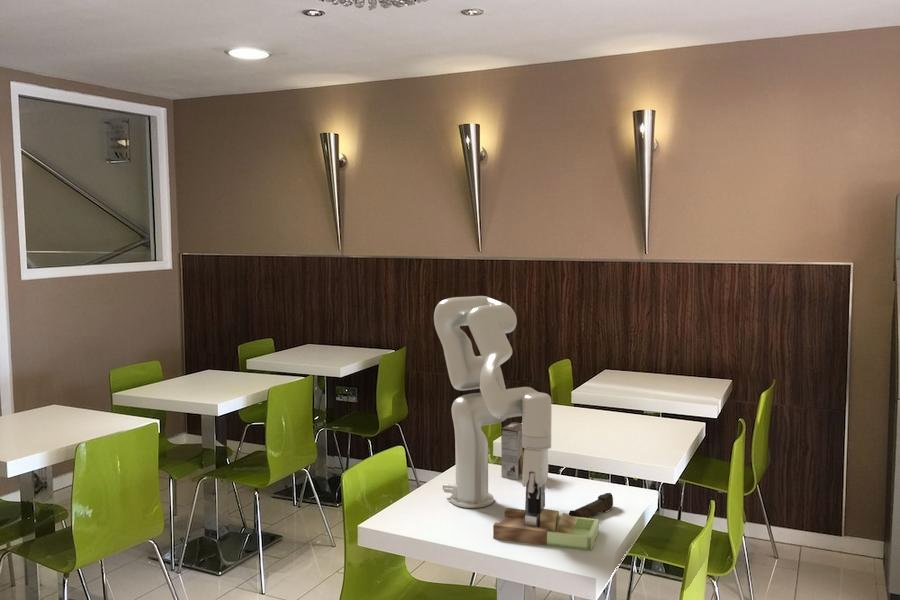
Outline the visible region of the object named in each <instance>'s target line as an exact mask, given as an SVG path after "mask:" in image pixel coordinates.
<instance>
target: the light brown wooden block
mask: <svg viewBox="0 0 900 600" xmlns="http://www.w3.org/2000/svg"><path fill="white" fill-rule="evenodd" d="M561 515H562V516H561V518H560V520H559V523H558V525H557V528H556V530H555V532H559V533H567V534H572V533H573V530H574V528H575V525H576V523H577V520H578V519H577V518H575V517H572V516H570V515H569V513H566V512H562V513H561Z"/></svg>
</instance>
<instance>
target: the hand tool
mask: <svg viewBox="0 0 900 600" xmlns="http://www.w3.org/2000/svg"><path fill="white" fill-rule="evenodd" d="M613 506H614V496H613V494H612V493H611V492H606V493H603V494H600V495H598V497H597V499H596V500H594V501H591V502H590V503H588V504H587V503H586V505H583V506H580V507H579V508H577V509H574V510H573V509H572V510H571V509H570V510H569V512H568V515H570V516H573V517H582V518H592V517H594V516H596V515H598V514H600V513H607V512H609V511H610V510H611V509H612V508H613ZM608 510H609V511H608ZM606 511H607V512H606Z"/></svg>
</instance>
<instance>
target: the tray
mask: <svg viewBox="0 0 900 600" xmlns="http://www.w3.org/2000/svg"><path fill="white" fill-rule="evenodd" d="M561 516H562V514H559V520H560V518H561ZM572 517H573V516H572ZM575 518H577V519H578V520H577V523H576V525H575V528H574V530H573V533H572V534H567V533H559V532H555V531H553V532H550V531H548V532H547V545H546V546H552V547H559V548H560V547H561V548H565V549H566V548H567V549H569V548H570V549H574V550H582V551H583V550H584V551H592V549H593V546H594V544H595V542H596V540H595V539H597V537H598V535H599V532H600V519H597V518H592V517H590V518H582V517H575ZM559 520H558V523H559ZM597 534H598V535H597Z"/></svg>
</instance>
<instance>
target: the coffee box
mask: <svg viewBox="0 0 900 600" xmlns="http://www.w3.org/2000/svg"><path fill="white" fill-rule="evenodd" d="M500 433H501V436H500V437H501V438H500V439H501V441H500V442H501V443H500V444H501V446H500V447H501V455H500V456H501V459H500V461H501V464H500V466H501V477H502V478H504V479H505V478H506V479H511V480H520V479H521V478H522V477H523V458H524V450H525V448H523V447H522V422H516V421H513V422H511V423H508V424H507V425H506V426H504V427H501V430H500Z"/></svg>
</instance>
